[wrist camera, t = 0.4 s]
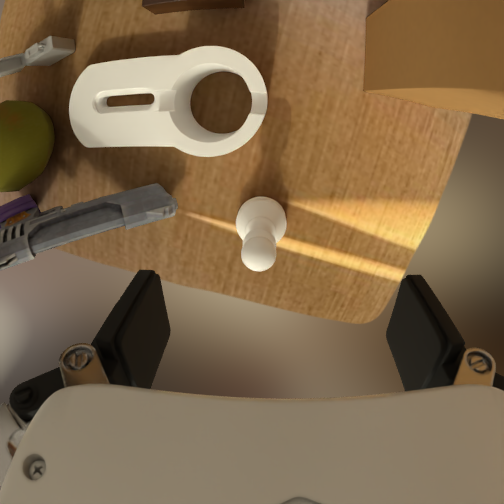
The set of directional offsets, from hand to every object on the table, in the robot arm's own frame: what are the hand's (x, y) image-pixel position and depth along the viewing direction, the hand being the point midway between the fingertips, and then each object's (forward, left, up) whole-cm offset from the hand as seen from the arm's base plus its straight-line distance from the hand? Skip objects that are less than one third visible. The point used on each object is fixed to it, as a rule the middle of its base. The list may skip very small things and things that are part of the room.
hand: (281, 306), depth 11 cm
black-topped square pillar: (-13, +12, -21) cm, 27 cm away
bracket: (-7, -11, -21) cm, 25 cm away
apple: (-5, -28, -21) cm, 35 cm away
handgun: (+3, -26, -24) cm, 36 cm away
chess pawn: (+5, -1, -21) cm, 21 cm away
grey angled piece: (-15, -26, -21) cm, 36 cm away
